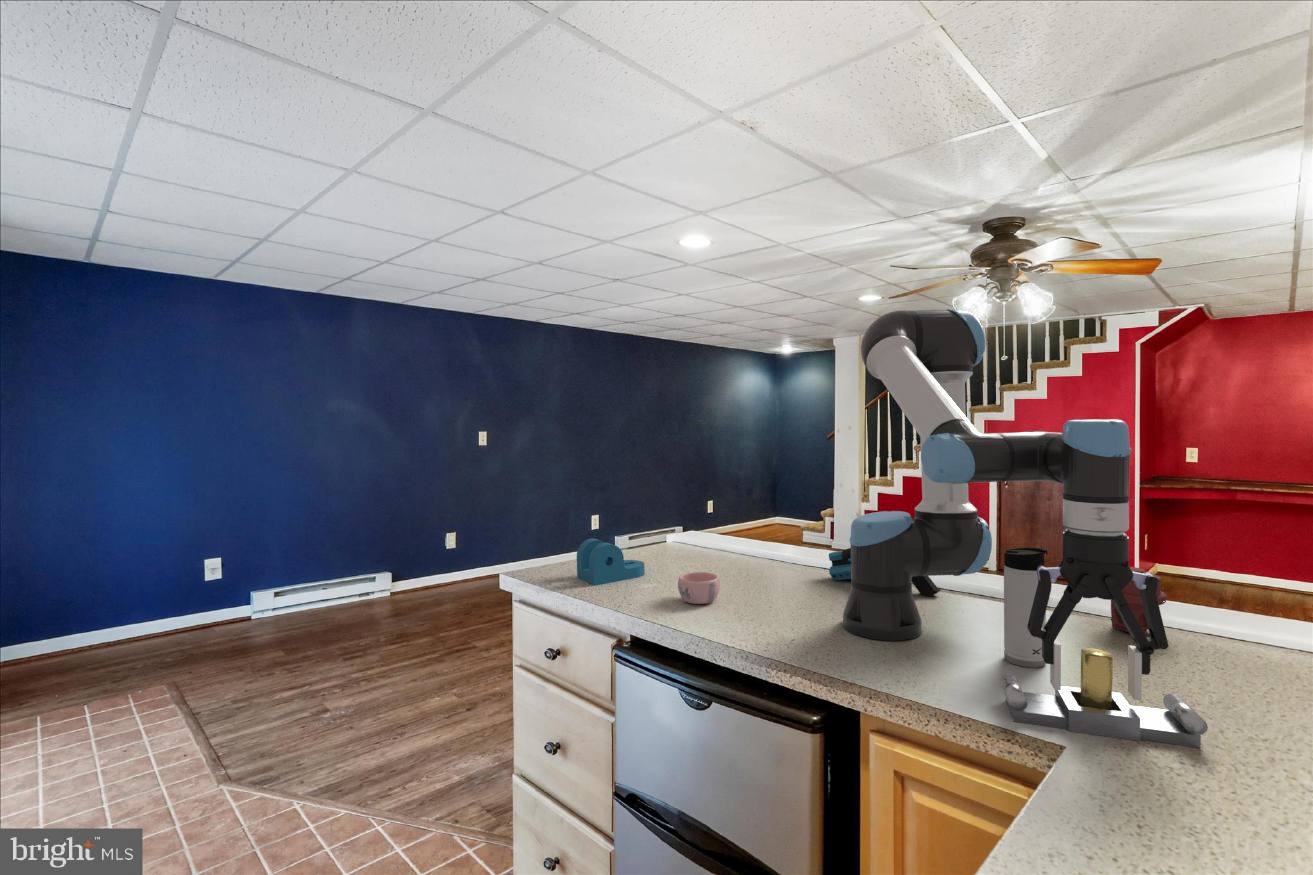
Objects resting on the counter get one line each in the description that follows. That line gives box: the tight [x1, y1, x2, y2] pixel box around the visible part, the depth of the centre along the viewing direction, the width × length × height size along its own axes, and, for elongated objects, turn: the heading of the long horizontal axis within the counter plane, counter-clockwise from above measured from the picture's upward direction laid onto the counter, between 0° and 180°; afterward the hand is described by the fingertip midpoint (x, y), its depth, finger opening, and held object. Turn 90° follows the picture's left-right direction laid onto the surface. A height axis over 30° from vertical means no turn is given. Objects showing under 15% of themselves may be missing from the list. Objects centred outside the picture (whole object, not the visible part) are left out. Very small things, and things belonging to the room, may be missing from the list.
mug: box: [677, 571, 721, 605], centre depth 148 cm, size 12×10×6 cm
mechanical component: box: [1109, 566, 1167, 637], centre depth 121 cm, size 12×10×10 cm
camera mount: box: [576, 538, 646, 586], centre depth 172 cm, size 18×10×10 cm, turn 123°
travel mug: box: [1003, 547, 1049, 669], centre depth 107 cm, size 6×7×20 cm
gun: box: [828, 547, 942, 597], centre depth 156 cm, size 8×26×15 cm, turn 44°
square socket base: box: [1000, 673, 1208, 749], centre depth 86 cm, size 22×8×4 cm, turn 68°
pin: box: [1080, 647, 1114, 710], centre depth 86 cm, size 4×4×10 cm
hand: (1094, 690), depth 86 cm, fingers open, 9 cm apart
